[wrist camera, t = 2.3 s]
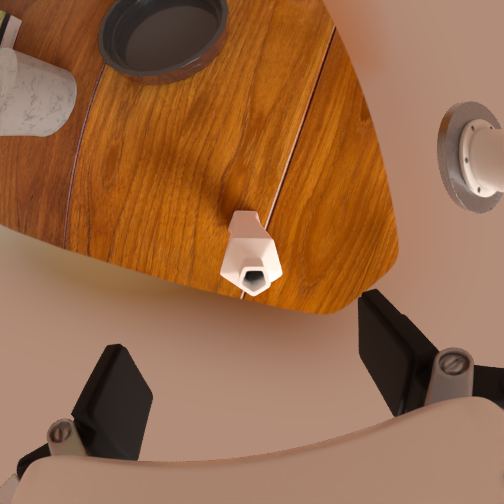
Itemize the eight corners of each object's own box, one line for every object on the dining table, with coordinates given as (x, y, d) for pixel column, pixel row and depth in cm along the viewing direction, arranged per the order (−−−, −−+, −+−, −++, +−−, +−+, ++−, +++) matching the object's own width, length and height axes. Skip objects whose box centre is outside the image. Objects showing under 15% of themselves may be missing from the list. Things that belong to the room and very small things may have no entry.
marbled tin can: (69, 55, 23) (15, 29, 12) (84, 111, 26) (22, 99, 15) (20, 94, 24) (-38, 86, 12) (33, 149, 27) (-31, 155, 15)
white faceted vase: (250, 196, 31) (263, 230, 17) (271, 228, 32) (300, 284, 18) (216, 219, 32) (203, 271, 18) (238, 250, 33) (242, 319, 19)
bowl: (216, -19, 22) (214, -38, 17) (240, 67, 26) (241, 54, 22) (109, 15, 22) (95, 1, 18) (121, 103, 26) (105, 96, 22)
